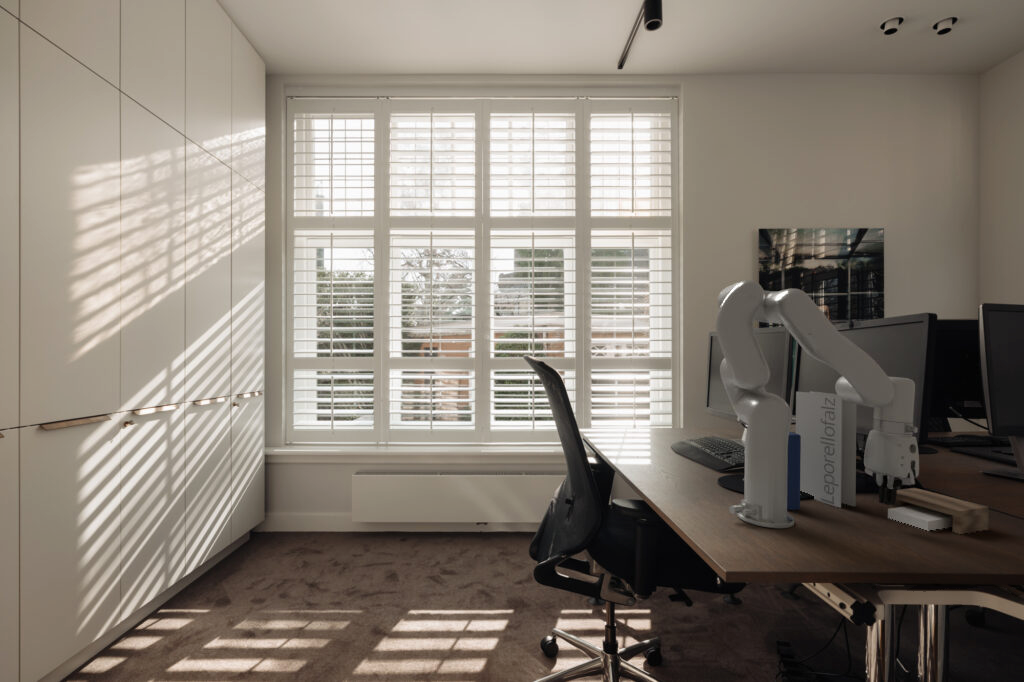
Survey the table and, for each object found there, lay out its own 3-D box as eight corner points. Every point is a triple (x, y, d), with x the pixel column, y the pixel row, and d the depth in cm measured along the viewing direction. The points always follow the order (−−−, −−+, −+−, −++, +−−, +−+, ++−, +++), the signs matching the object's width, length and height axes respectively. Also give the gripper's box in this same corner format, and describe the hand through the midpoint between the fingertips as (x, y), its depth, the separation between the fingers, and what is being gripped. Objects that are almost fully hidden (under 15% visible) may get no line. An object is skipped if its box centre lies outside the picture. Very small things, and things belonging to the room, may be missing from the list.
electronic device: (802, 509, 129) (803, 434, 129) (784, 510, 128) (785, 434, 128) (777, 498, 138) (777, 428, 139) (760, 499, 138) (761, 428, 138)
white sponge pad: (927, 531, 115) (927, 521, 115) (887, 518, 124) (887, 508, 124) (966, 525, 120) (966, 515, 120) (924, 512, 128) (924, 503, 128)
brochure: (794, 492, 144) (795, 391, 145) (808, 491, 146) (810, 391, 146) (840, 508, 131) (841, 396, 131) (855, 506, 133) (856, 396, 133)
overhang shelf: (960, 534, 113) (960, 511, 113) (887, 511, 128) (887, 491, 128) (988, 529, 117) (988, 506, 117) (914, 508, 132) (914, 487, 132)
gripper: (937, 434, 112) (932, 513, 112) (871, 422, 126) (866, 493, 126) (915, 434, 109) (910, 515, 109) (850, 422, 123) (845, 494, 123)
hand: (886, 503), depth 118 cm, fingers closed
